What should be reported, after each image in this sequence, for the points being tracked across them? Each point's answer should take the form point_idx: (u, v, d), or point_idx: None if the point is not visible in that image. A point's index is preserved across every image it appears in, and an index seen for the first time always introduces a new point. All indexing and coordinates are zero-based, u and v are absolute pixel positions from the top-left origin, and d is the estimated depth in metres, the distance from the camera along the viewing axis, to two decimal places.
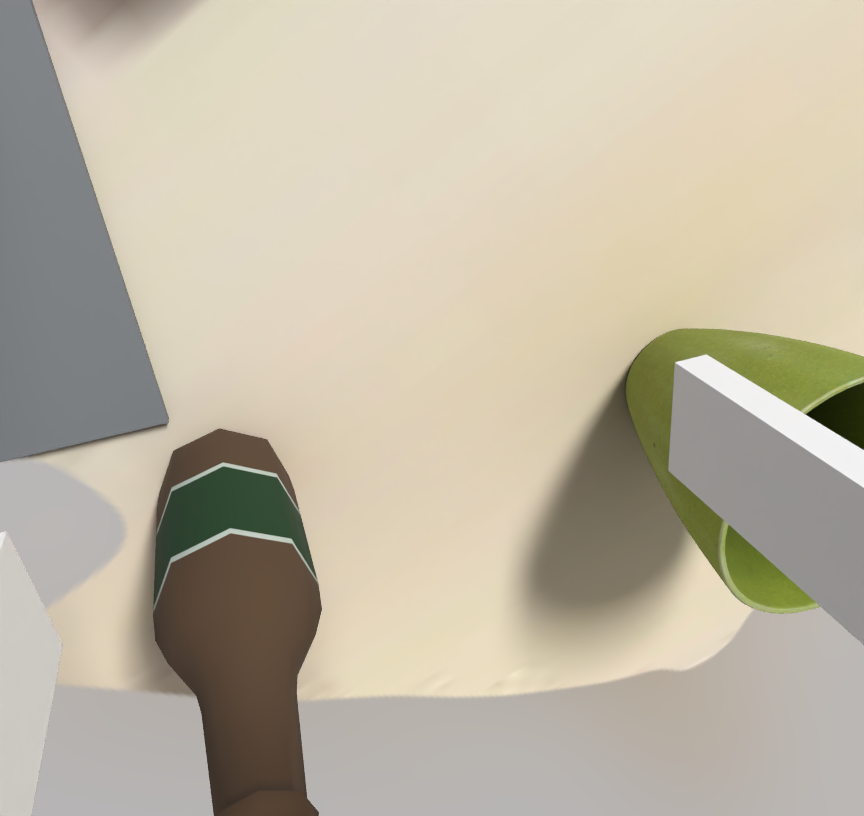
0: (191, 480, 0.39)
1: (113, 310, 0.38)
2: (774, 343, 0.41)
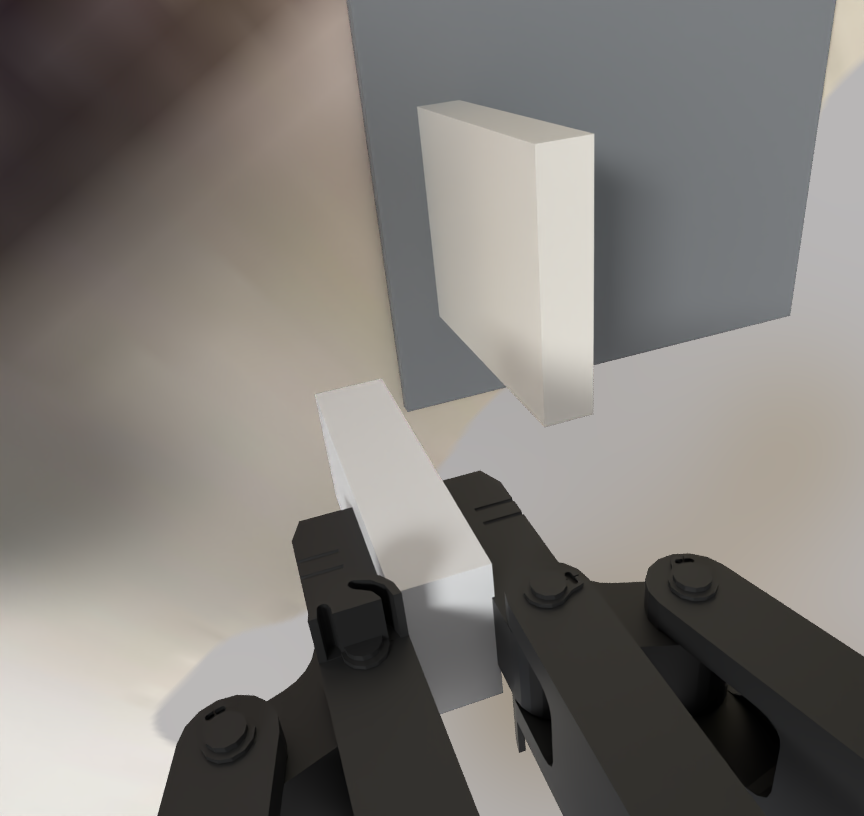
0: None
1: None
2: None
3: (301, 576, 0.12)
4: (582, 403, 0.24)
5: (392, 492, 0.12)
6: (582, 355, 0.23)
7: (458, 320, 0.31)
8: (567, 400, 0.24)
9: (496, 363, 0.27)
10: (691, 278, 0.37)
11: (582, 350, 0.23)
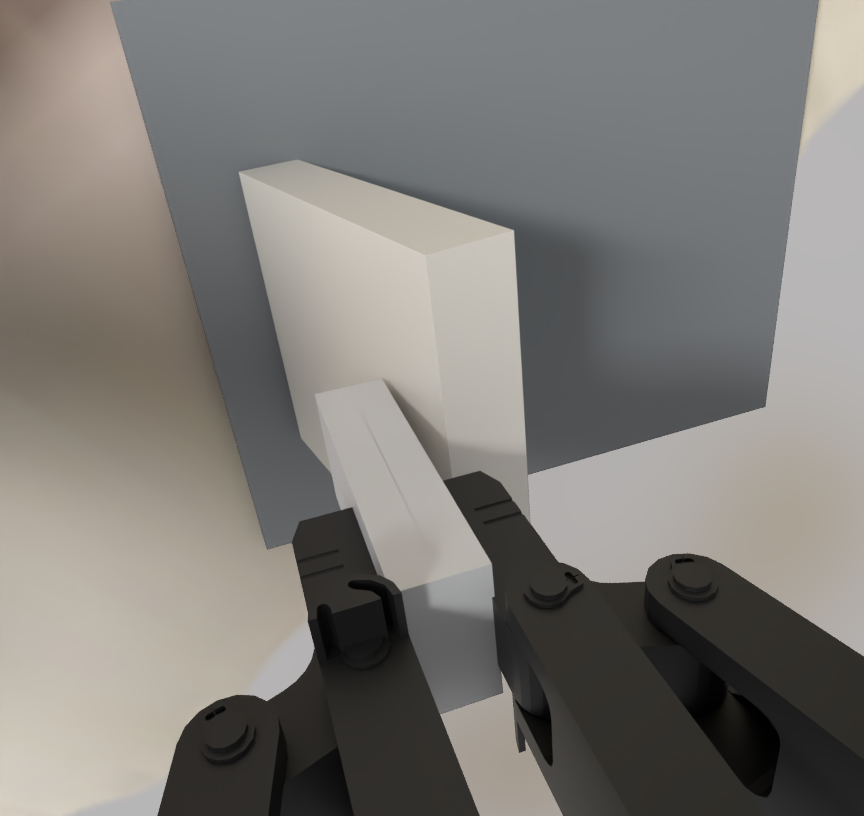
0: None
1: None
2: None
3: (301, 576, 0.12)
4: None
5: (392, 492, 0.12)
6: None
7: None
8: None
9: None
10: (636, 370, 0.29)
11: None
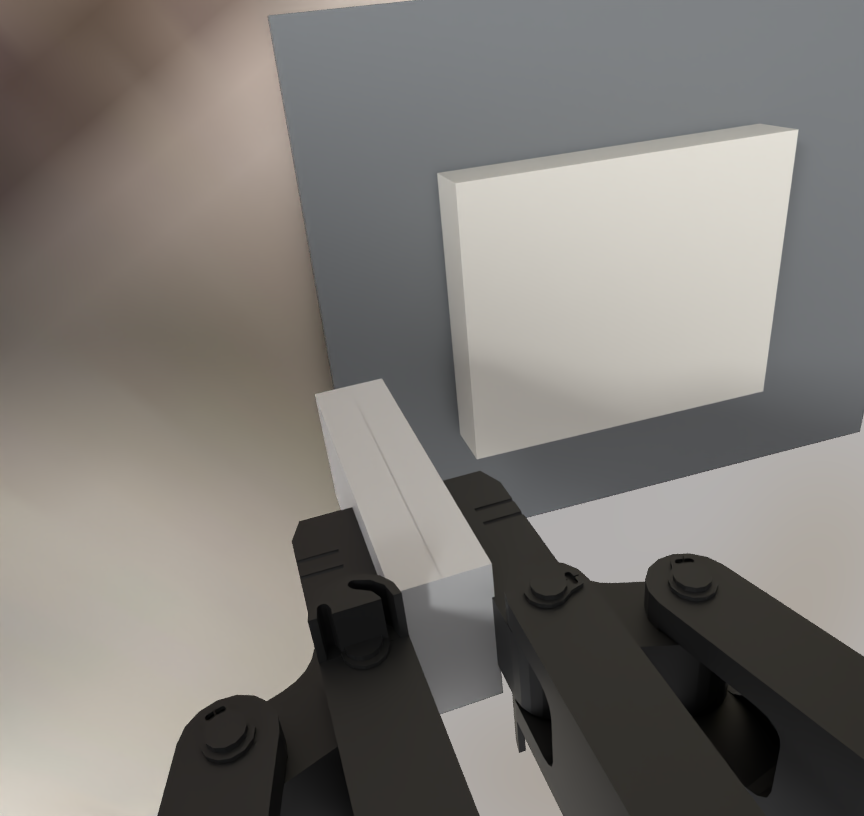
0: None
1: None
2: None
3: (301, 576, 0.12)
4: None
5: (392, 492, 0.12)
6: None
7: (553, 420, 0.24)
8: None
9: (663, 400, 0.25)
10: None
11: None
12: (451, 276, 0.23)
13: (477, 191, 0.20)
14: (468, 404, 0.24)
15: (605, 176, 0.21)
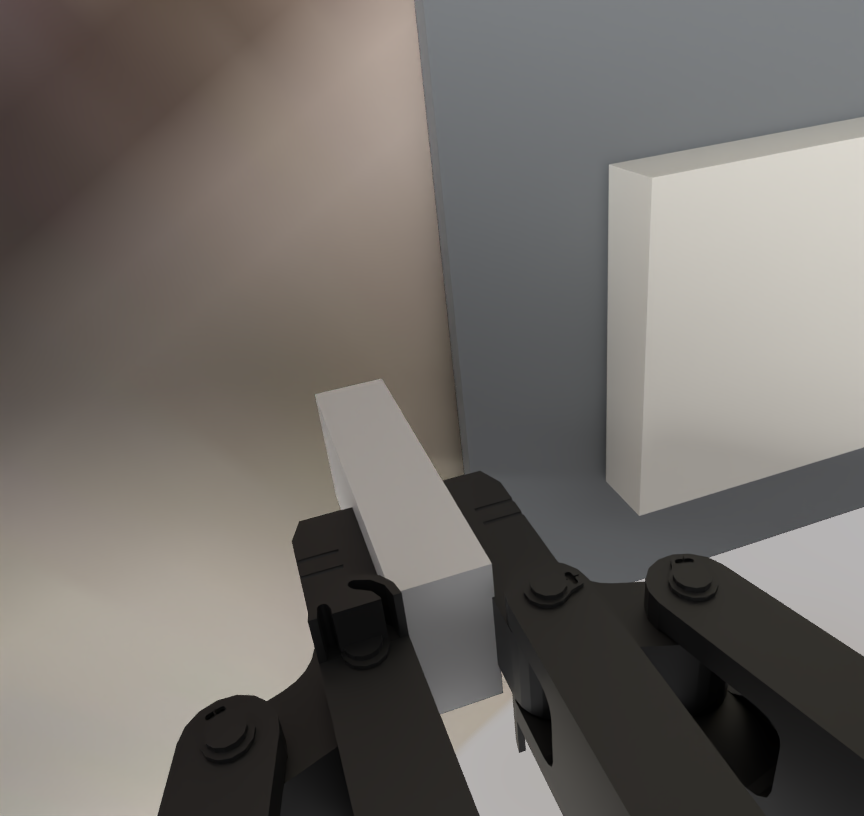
0: None
1: None
2: None
3: (301, 576, 0.12)
4: None
5: (392, 492, 0.12)
6: None
7: (729, 465, 0.20)
8: None
9: (853, 434, 0.21)
10: None
11: None
12: (618, 294, 0.18)
13: (676, 187, 0.16)
14: (631, 450, 0.19)
15: (827, 164, 0.17)
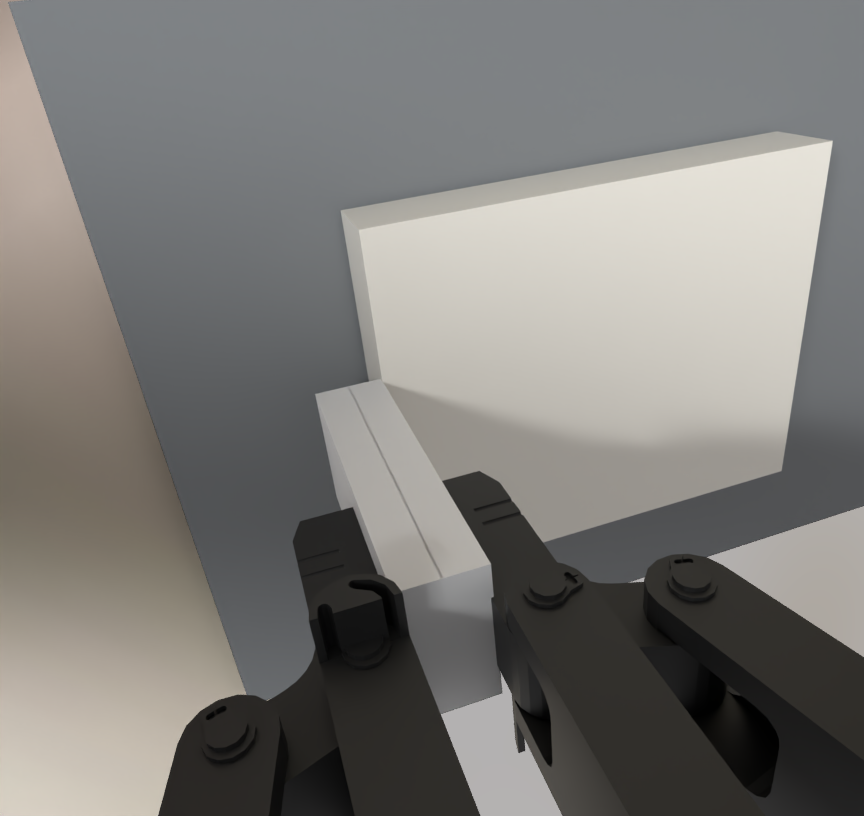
0: None
1: None
2: None
3: (302, 576, 0.12)
4: None
5: (392, 492, 0.12)
6: None
7: None
8: None
9: (656, 491, 0.20)
10: None
11: None
12: (367, 348, 0.17)
13: (391, 239, 0.14)
14: None
15: (572, 212, 0.15)
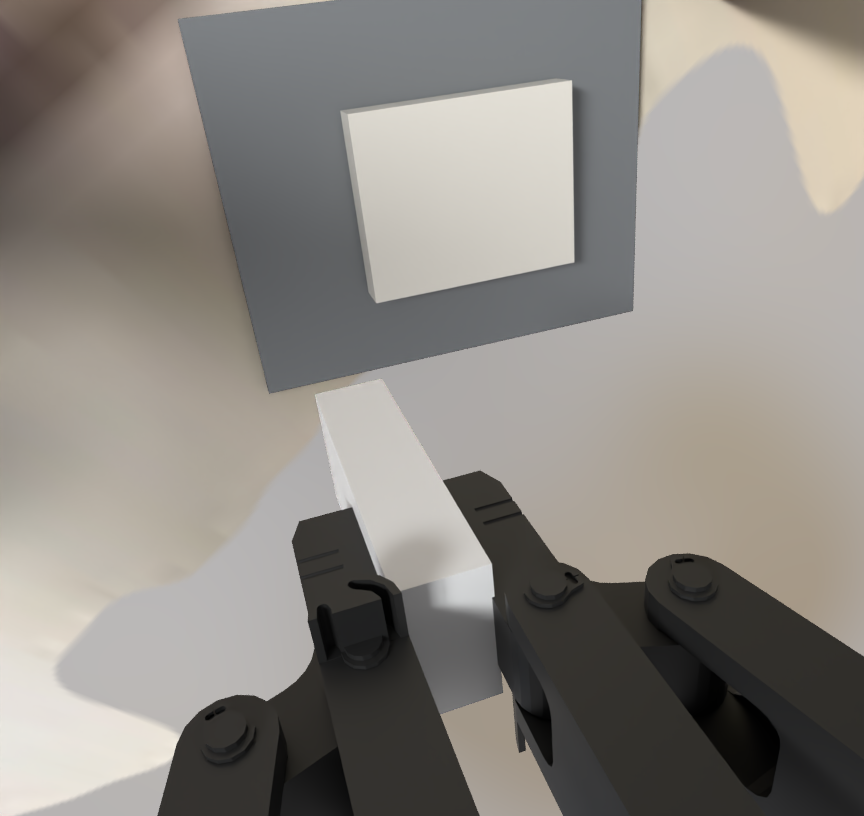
0: None
1: (508, 0, 0.34)
2: None
3: (301, 576, 0.12)
4: None
5: (392, 492, 0.12)
6: None
7: (426, 277, 0.37)
8: None
9: (503, 266, 0.38)
10: (530, 276, 0.41)
11: None
12: (352, 178, 0.35)
13: (362, 119, 0.33)
14: (368, 265, 0.36)
15: (444, 110, 0.34)
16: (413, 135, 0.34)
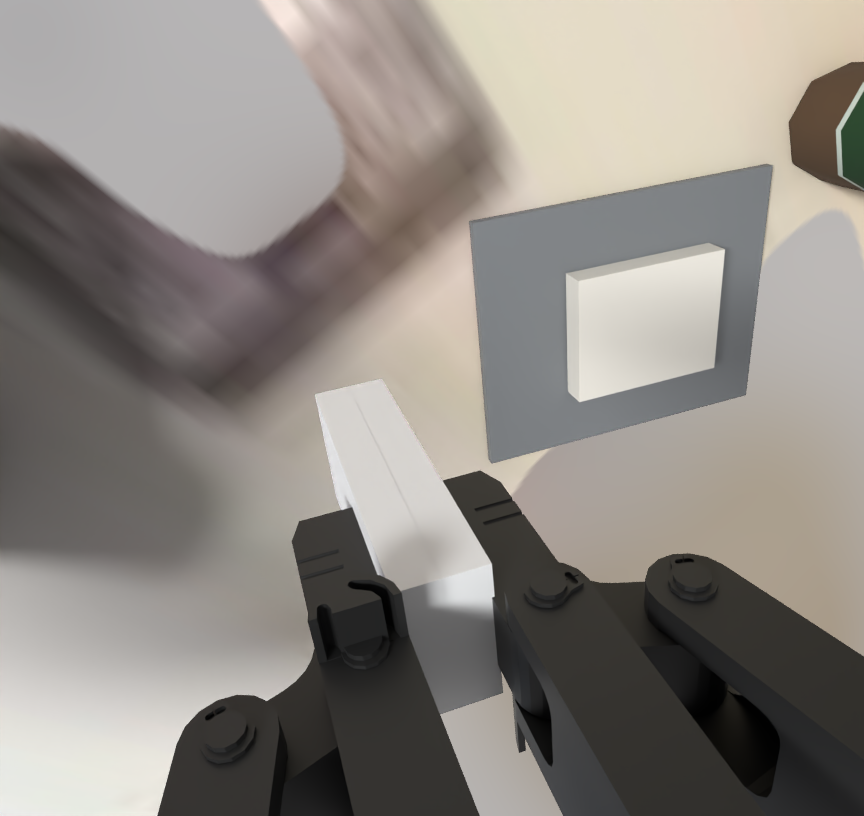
0: (840, 159, 0.47)
1: (682, 195, 0.49)
2: None
3: (301, 576, 0.12)
4: None
5: (392, 492, 0.12)
6: None
7: (614, 383, 0.52)
8: None
9: (666, 372, 0.53)
10: None
11: None
12: (570, 318, 0.50)
13: (587, 283, 0.48)
14: (576, 376, 0.51)
15: (640, 274, 0.49)
16: (618, 291, 0.49)
